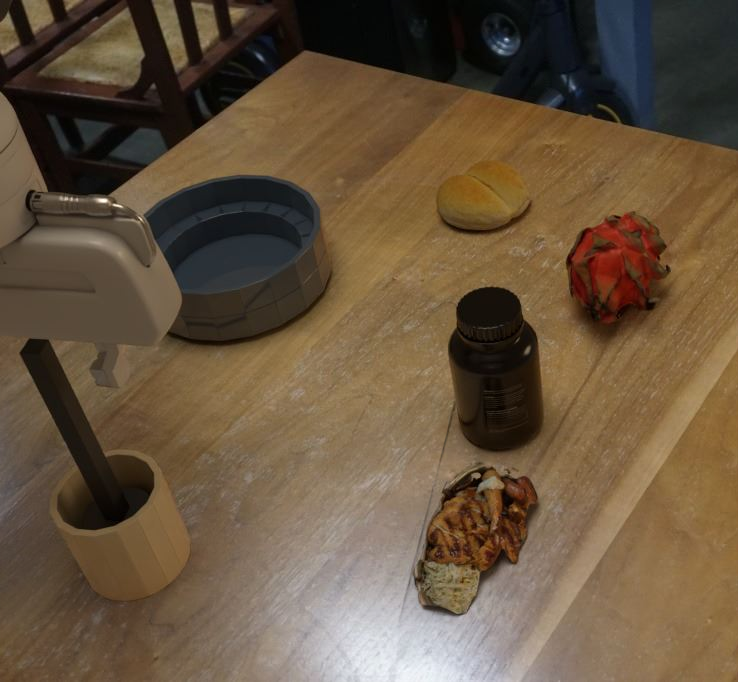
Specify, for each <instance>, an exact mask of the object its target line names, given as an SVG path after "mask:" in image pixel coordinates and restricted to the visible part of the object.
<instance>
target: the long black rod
mask: <svg viewBox="0 0 738 682" xmlns="http://www.w3.org/2000/svg"><path fill="white" fill-rule="evenodd" d="M55 351H56V350H55V349H54V347H53V345H52V343H51V340H48V339H34V338H27V340H26V342H25V343H24V345H23V347H22V348H21V349H20V351H19V356H20V358H21V359H22V362H23V364H24V366H25V367H26V369H27V371H28V373H29V375H30V377H31V379H32V381H33V383H34V385H35V387H36V389H37V391H38V393H39V394H40V397H41V398H42V401H43V402H44V404H45V406H46V408H47V410H48V412H49V414H50V416H51V417H52V418H51V419H52V420H53V421H54V423H55V426H56V427H57V430H58V432H59V434H60V436H61V437H62V439H63V442H64V443H65V445H66V447H67V449H68V451H69V453H70V455H71V456H72V458H73V461H74V463H75V465H76V464H77V466H78V468H79V470H80V472H81V474H82V476H83V478H84V480H85V482H86V484H87V486H88V488H89V490H90V492H91V494H92V495H93V497H94V499H95V500H94V501H93V502H92V503H91V504H90V505H89V506H88V508H87V509H86V511H85V513H84V516H83V521H82V525H83V529H84V530H99V529H103V528H108V527H112V526H116V525H117V524H119V523H121V522H123V521H125V520H127V519H128V518H130V517H132V516H134V515H135V514H136V513H137V512H138V511H139V510H140V509H141V508H142V507H143V506H144V505H145V504H146V503H147V501H148V499H149V497H150V496H149V494H148V493H146V492H145V491H144V490H142V489H139V488H136V487H120V486H119V484H118V482H117V479H116V477H115V475H114V473H113V471H112V469H111V467H110V465H109V463H108V461H107V459H106V457H105V455H104V453H103V452H104V451H103V448H102V446H101V444H100V443H99V440H98V438H97V436H96V434H95V431H94V430H93V429H92V426H91V423H90V422H89V420H88V417H87V416H86V413H85V411H84V410H83V409H84V408H83V407H82V405H81V403H80V400H79V398H78V397H77V394H76V393H75V391H74V388H73V386H72V384H71V382H70V381H69V378H68V376H67V373H66V372H65V370H64V368H63V366H62V364H61V361H60V360H59V358H58V356H57V353H56V352H55Z"/></svg>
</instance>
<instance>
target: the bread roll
mask: <svg viewBox="0 0 738 682" xmlns="http://www.w3.org/2000/svg"><path fill="white" fill-rule="evenodd" d="M531 200H532V197H531V193H530V190H529V186H528V185H527V183H526V181H525V179H524V177H523V175H521V173H520V172H519V171H518V170H516V169H515V168H514V167H513V166H511V165H510V164H508V163H506V162H504V161H500V160H482V161H479V162H476V163H475V164H474V163H473V165H472V166H470V167H469V168H468V169H467V170H466V171H465V173H464V174H457V175H453V176H450V177H448V178H446V179H444V181H443V182H442V183H441V184H440V185H439V187H438V190H437V192H436V201H435V202H436V206H437V210H438V213H439V215H440V216H441V218H442V219H443V221H445V222H446V223H447V224H448V225H451V226H453V227H456V228H458V229H461V230H472V231H490V230H493V229H494V230H495V229H498V228H500V227H502V226H505V225H506V224H508V223H509V222H510V221H511V220H512V219H513V218H517V217H519V216H520V215H521V214H523V213H524V211H525V210H527V208H528V206H529V204H530V203H531Z"/></svg>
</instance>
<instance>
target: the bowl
mask: <svg viewBox="0 0 738 682" xmlns="http://www.w3.org/2000/svg"><path fill="white" fill-rule="evenodd" d="M142 215H143V216H144V217H145V218H146V220H147V222H148V223H149V226H150V229H151V232H152V234H153V237H154V239H155V241H156V243H157V245H158V246H159V248H160V250H161V252H162V253H163V255H164V257H165V259H166V261H167V263H168V265H169V267H170V269H171V271H172V273H173V275H174V278H175V280H176V282H177V284H178V287H179V289H180V292H181V296H182V304H181V307H180V310H179V312H178V315H177V316H176V318H175V320H174V322H173V324H172V326H171V327H170V329H169V330H168V332H169V333H172V334H175V335H177V336H180V337H184V338H186V339H188V340H189V339H190V340H196V341H197V340H198V341H216V342H225V341H229V340H230V341H231V340H237V339H243V338H249V337H250V338H251V337H254V336H256V335H259V334H262V333H265V332H267V331H270V330H273V329H275V328H278V327H281V326H282V325H284V324H285V323H287V322H288V321H290V320H292V319H293V318H295V317H296V316H298V315H299V314H301V313H303V312H305V311H306V310H307V309H308V308H309V307H310V306H311V305H312V303H313V302H314V301H315V300H316V299H318V297H319V296H320V295H321V294H322V293H323V292H324V290H325V288H326V286H327V282H328V280H329V278H330V275H331V273H332V263H331V251H330V247H329V242H328V239H327V233H326V230H325V225H324V221H323V217H322V212H321V208H320V206H319V204H318V203H317V202H316V200H315V198H314V197H313V196H312V194H311V193H310V192H309V191H308V190H306V189H304V188H303V187H301V186H299V185H298V184H296V183H294V182H293V181H291V180H287V179H283V178H279V177H275V176H271V175H265V174H264V175H263V174H261V175H260V174H233V175H227V176H221V177H214V178H209V179H206V180H204V181H201V182H198V183H195V184H191V185H189V186H185V187H182V188H181V189H179V190H177V191H174V192H173V193H171V194H169V195H168V196H166V197H164V198H162V199H160V200H159V201H157V202H156V203H155V204H154V205H153V206H151V207H150V209H148V210H147V211H146V212H145V213H144V214H142Z"/></svg>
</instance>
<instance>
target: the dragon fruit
mask: <svg viewBox="0 0 738 682" xmlns="http://www.w3.org/2000/svg"><path fill="white" fill-rule="evenodd" d="M636 212H637V211H635V210H634V211H627V212H626V213H624V214H623V215H622V216H621V215H617V214H611V215H609V216H608V215H607V216H605V217H604V219H603V222H602V223H600V224H597V225H596V226H594V227H589V226H587V227H585V228H583V229H581V230H580V231H579V232H578V233H577V235H576V238H575V241H574V243H573V246H572V247H571V249H570V251H569V253H568V254H567V255H566V259H565V269H566V271H567V277H568V278H567V279H568V288H569V294H570V296H571V298H574V297H575V299H576V301H577V302H578V303H579V304H580V306H581V307H582V308H583V309H584V310H585V311H586V312H588V313H589V320H591V321H592V322H594V323H596V319H598V322H599V323H600V324H602V325H608V324H611V323H613V322H618V321H620V319H622V317H623V316H624V314H625V311H622V312H619V310H621V309H622V308H623V307H625V306H628V304H632V305H634V306H635V307H637V310H639V311H649V312H650V311H653V310H654V309H656V307H657V306H658V305H659V304H660V303H661V301H662V298H661V297H657V296H656V297H651V291H650V280H655V281H661V280H665V279H666V278H667V277H668V276H670V274H671V272H672V268H671V266H670V265H669V264H665V268H664V267H663V266H662V265H661V263H660V261H661V256H660V255H662V254H663V253H664V252H665V251H666V250H667V247H668V244H666V241H665V240H664V239H663V238H662V237H661V236H660V233H661V232H660V229H659V228H658V227H657V226H656V225H654V224H653V223H652V222H651V221H648V218H646V217H645V216H643V215H638V214H637V213H636Z"/></svg>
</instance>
